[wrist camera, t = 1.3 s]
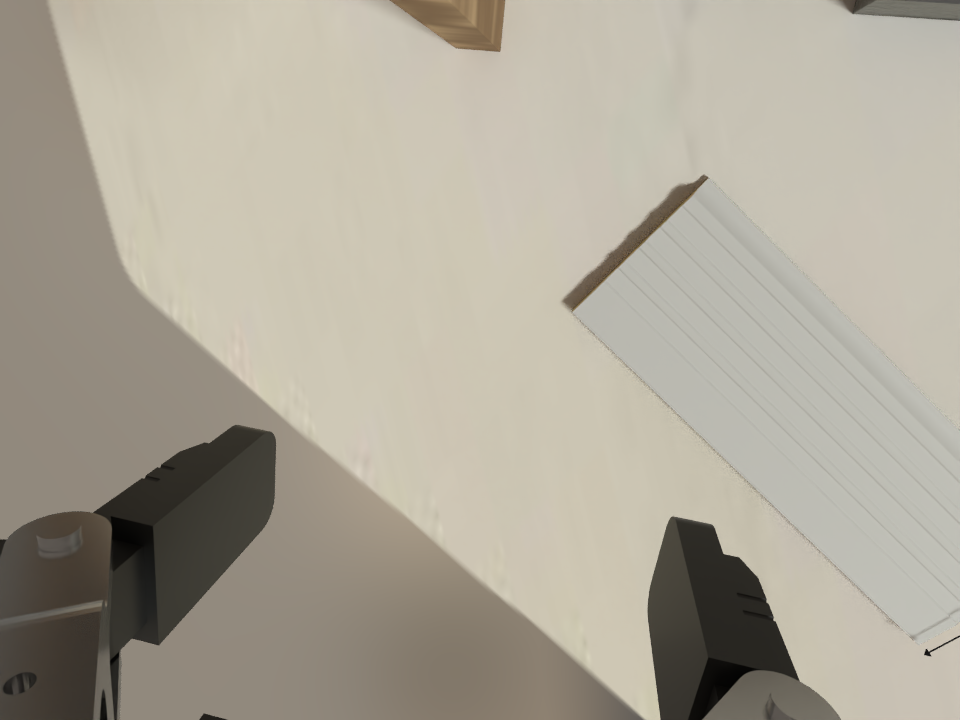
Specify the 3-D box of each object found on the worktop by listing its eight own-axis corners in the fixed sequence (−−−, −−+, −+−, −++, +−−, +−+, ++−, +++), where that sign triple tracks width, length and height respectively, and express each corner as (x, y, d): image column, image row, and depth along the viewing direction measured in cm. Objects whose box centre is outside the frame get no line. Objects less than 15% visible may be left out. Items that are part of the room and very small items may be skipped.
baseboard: (728, 156, 34) (573, 306, 38) (738, 156, 31) (570, 318, 35) (1094, 527, 36) (908, 629, 40) (1133, 557, 33) (929, 663, 38)
